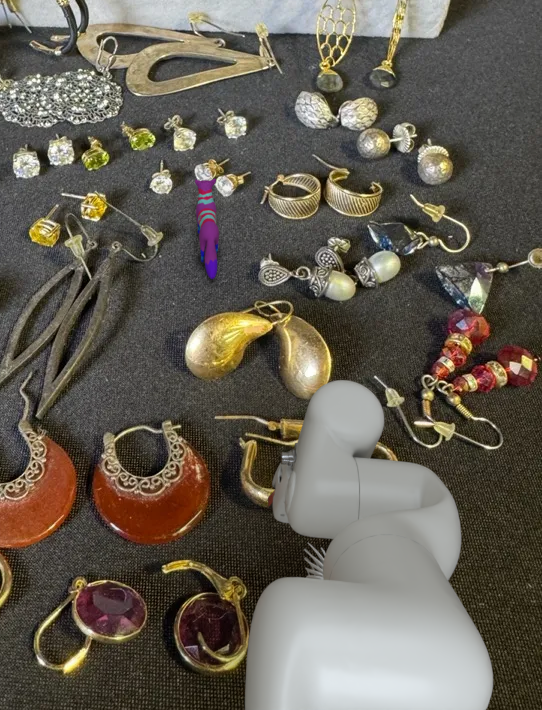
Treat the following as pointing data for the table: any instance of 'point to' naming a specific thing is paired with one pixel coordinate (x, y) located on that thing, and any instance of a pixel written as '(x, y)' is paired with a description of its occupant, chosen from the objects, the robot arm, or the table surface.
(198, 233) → the purple striped elongated piece
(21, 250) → the table surface
